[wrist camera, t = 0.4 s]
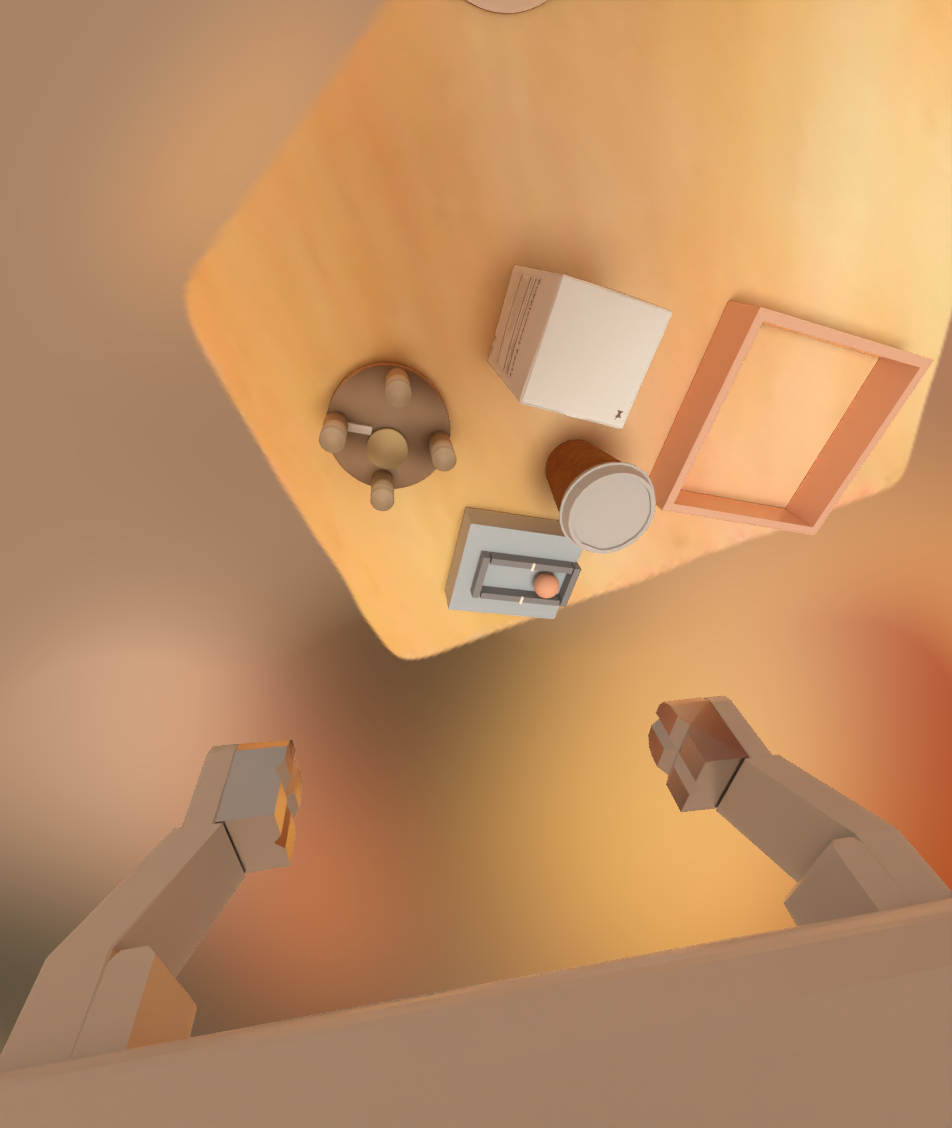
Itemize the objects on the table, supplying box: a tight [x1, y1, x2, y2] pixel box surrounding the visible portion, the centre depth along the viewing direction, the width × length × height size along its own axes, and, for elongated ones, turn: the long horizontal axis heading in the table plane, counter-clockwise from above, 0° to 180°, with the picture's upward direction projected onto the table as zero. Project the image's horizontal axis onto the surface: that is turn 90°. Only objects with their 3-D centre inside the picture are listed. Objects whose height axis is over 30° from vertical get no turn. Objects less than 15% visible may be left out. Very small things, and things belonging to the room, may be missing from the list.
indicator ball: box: [534, 573, 559, 598], centre depth 58 cm, size 3×3×3 cm
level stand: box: [445, 507, 582, 619], centre depth 59 cm, size 12×14×6 cm
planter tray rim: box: [649, 301, 934, 535], centre depth 55 cm, size 21×22×5 cm
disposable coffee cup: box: [546, 440, 656, 553], centre depth 51 cm, size 10×10×12 cm
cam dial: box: [319, 362, 456, 511], centre depth 47 cm, size 12×12×8 cm
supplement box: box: [488, 265, 672, 429], centre depth 41 cm, size 9×9×15 cm
